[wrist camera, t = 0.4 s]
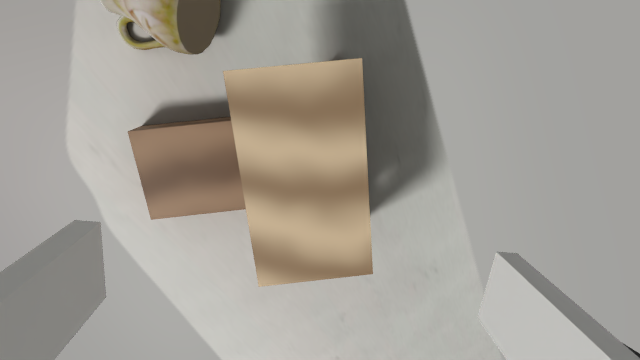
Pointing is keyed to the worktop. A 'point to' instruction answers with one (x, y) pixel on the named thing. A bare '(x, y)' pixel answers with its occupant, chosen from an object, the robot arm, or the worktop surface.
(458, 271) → the worktop surface
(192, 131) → the slab
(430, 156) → the worktop surface
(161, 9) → the mug
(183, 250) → the worktop surface
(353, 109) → the shelf
